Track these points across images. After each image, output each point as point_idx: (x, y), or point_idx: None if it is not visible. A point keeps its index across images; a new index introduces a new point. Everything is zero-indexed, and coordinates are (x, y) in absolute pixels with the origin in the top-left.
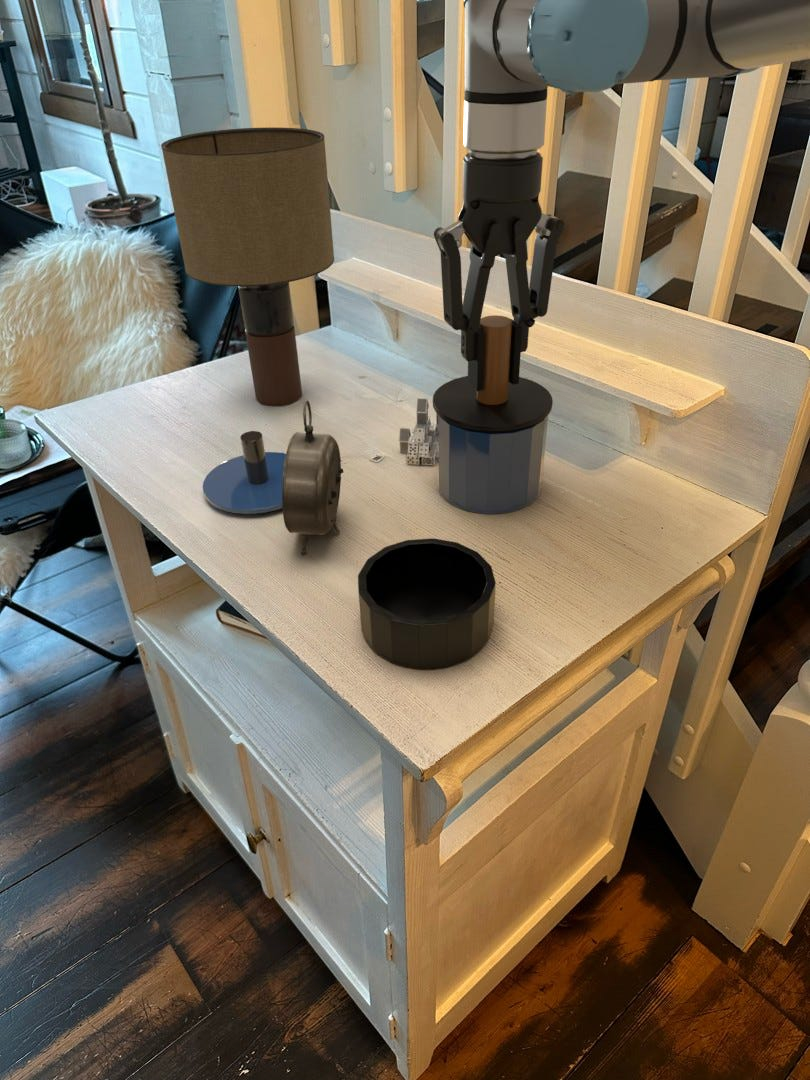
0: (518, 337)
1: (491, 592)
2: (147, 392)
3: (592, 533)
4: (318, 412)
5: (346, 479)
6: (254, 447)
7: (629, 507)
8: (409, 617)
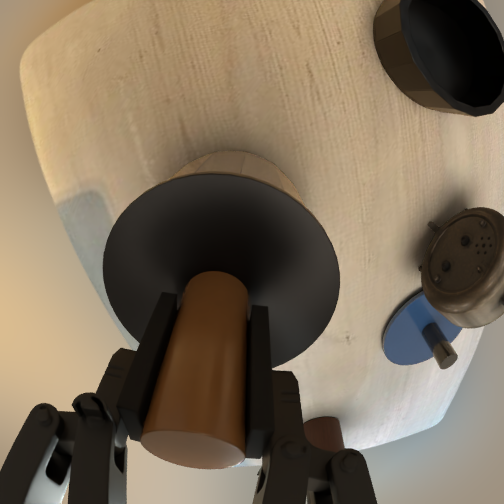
0: (135, 383)
1: None
2: (384, 438)
3: (174, 64)
4: (309, 403)
5: (365, 306)
6: (451, 349)
7: (101, 98)
8: (444, 62)
